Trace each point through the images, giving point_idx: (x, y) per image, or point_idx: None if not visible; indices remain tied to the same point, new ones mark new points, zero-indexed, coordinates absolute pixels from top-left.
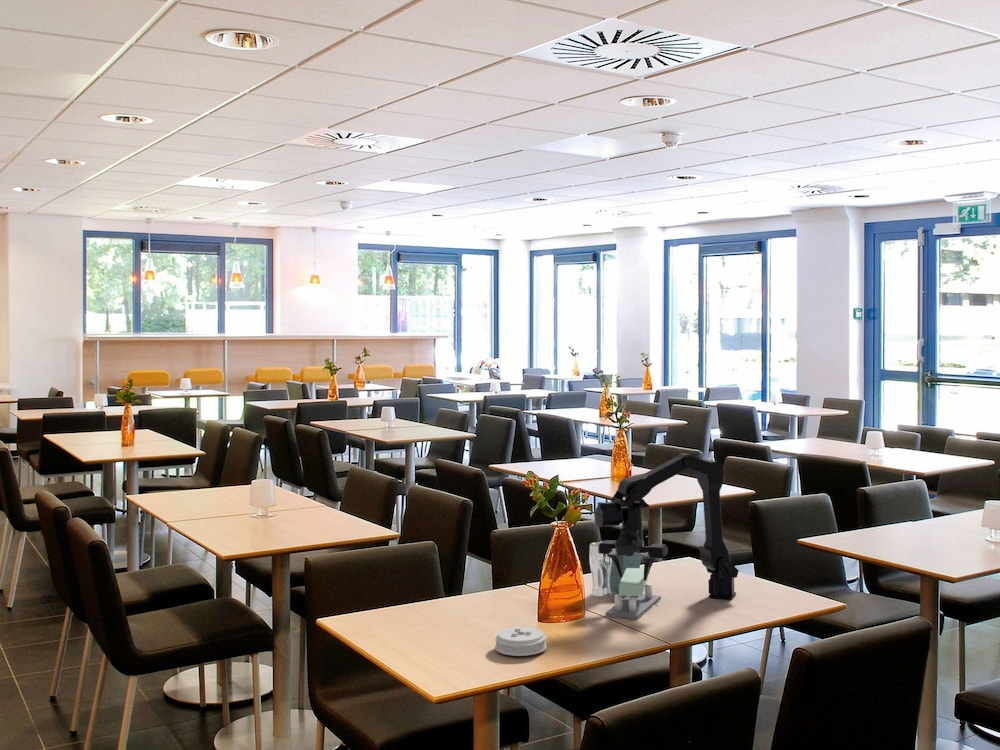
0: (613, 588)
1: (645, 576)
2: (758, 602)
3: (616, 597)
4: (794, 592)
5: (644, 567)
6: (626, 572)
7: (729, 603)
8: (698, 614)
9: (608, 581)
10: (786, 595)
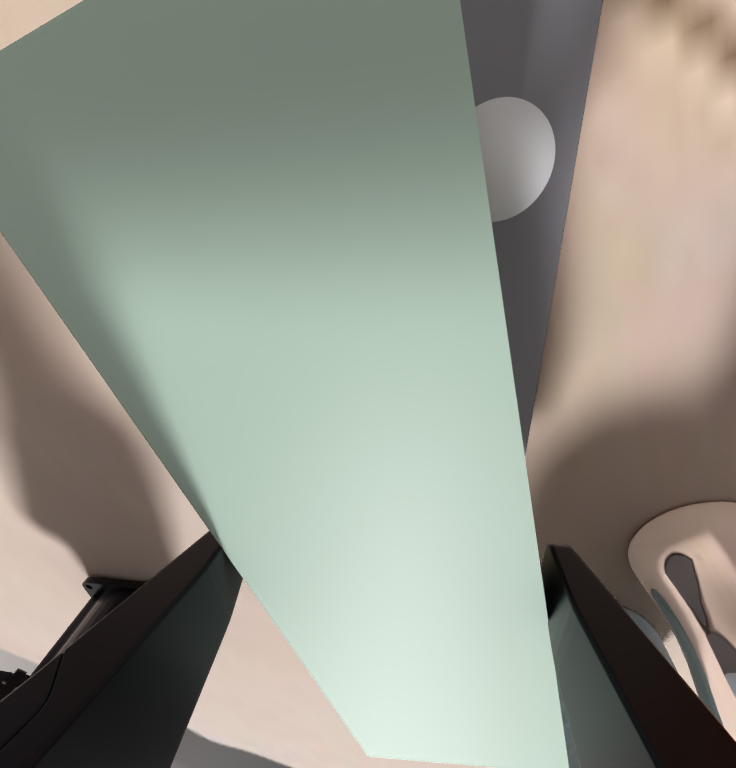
0: (636, 621)
1: (186, 558)
2: (5, 569)
3: (512, 100)
4: (18, 651)
5: (69, 712)
6: (528, 680)
7: (62, 543)
8: (27, 369)
9: (704, 630)
10: (10, 630)
